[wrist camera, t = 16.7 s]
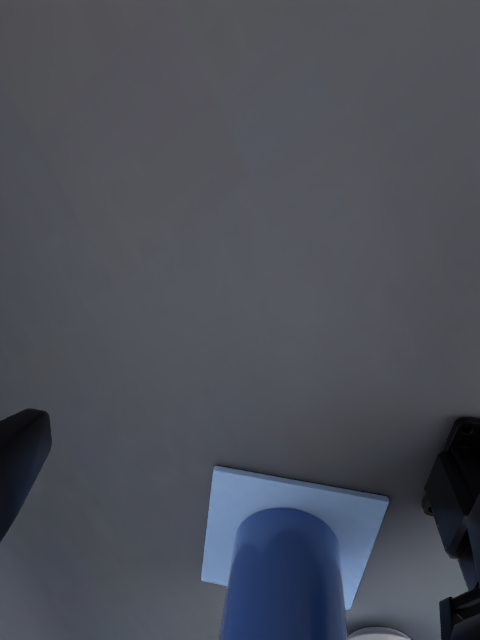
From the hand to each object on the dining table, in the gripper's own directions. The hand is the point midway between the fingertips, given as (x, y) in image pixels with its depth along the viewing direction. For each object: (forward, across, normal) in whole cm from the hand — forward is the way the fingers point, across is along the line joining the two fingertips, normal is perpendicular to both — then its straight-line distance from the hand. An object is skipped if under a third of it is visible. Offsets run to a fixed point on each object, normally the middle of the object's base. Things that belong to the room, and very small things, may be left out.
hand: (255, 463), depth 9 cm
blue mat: (+12, -3, +17) cm, 21 cm away
